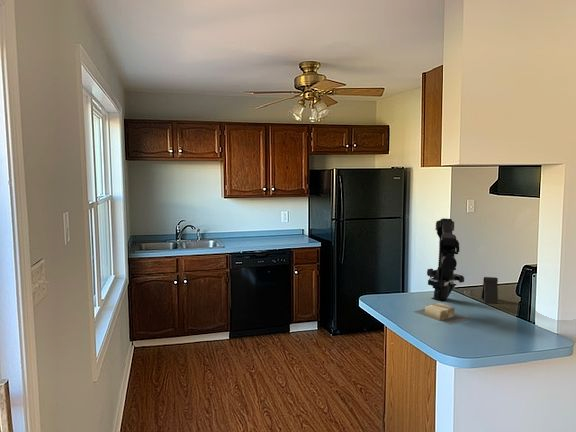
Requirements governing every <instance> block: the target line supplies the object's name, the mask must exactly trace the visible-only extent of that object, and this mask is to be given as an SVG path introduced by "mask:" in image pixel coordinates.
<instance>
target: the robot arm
mask: <svg viewBox="0 0 576 432" xmlns="http://www.w3.org/2000/svg"><path fill="white" fill-rule="evenodd" d="M454 230H455V221H453V219H452V218H445V217H444V218H440V219H439V220H436V222H435V231H436V235H437V237H438V238H439V242H438V243H439V245H438V248H439V249H438V263H437V264H438V265H437V266H438V267H437V269H433V268H427V271H426V276H427V277H429V278H428V280H427V286H432V289H434V291H433V297H431V300H435V301H438V302H440V303H441V302H442V303H443V302H446V301H450V300H451V299H450V298H449V296H450V295H451V293H452V291H453V290H454V288H455V287H456V286H457V283H455V281H458V282H459V283H460V284H461V283H462V284H463V283H464V282H465V276H463V275H461V274H457V273H455V271H456V270H457V260H456V258H455V257H456V256H455V255H459V253H460V242H459V240H458V239H457V236H456V235H455V234H453V232H454Z"/></svg>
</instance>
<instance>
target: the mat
mask: <svg viewBox="0 0 576 432" xmlns="http://www.w3.org/2000/svg"><path fill="white" fill-rule="evenodd" d="M413 313H416V314H419V315H422V316H423V317H427V318H430V319H433V320H436V321H439V322H442V323H444V324H448V325H450V326H452V325H455V324H460V323H462V322H464V321H468V320H472V317H469V316H466V315H463V314H459V313H456V312H454V316H453V317H450V318H446V319H443V320H437V319H434V318H431V317H428V316H426V315H425V308H422V309H418V310H415V311H413Z"/></svg>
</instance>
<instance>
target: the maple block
mask: <svg viewBox="0 0 576 432" xmlns="http://www.w3.org/2000/svg"><path fill="white" fill-rule="evenodd" d="M424 309H425V315H426V316H425V317H427V316H428V317H427V318H430V317H431V318H430V319H433V318H434V319H433V320H436V319H437V320H436V321H438V320H443V319H446V318H450V317H453V316H454V313H455V307H453V306H450V305H447V304H444V303H441V302H438V303H434V304H431V305H426V306H425V307H424Z"/></svg>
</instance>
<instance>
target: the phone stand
mask: <svg viewBox="0 0 576 432" xmlns="http://www.w3.org/2000/svg"><path fill="white" fill-rule="evenodd" d="M498 280H499V278H498V277H491V276H484V277H483V283H482V288H481V294H480V299H481V300H482V301H483V302H484V304H499V295H498V294H499V293H498V289H499V288H498Z"/></svg>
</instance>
